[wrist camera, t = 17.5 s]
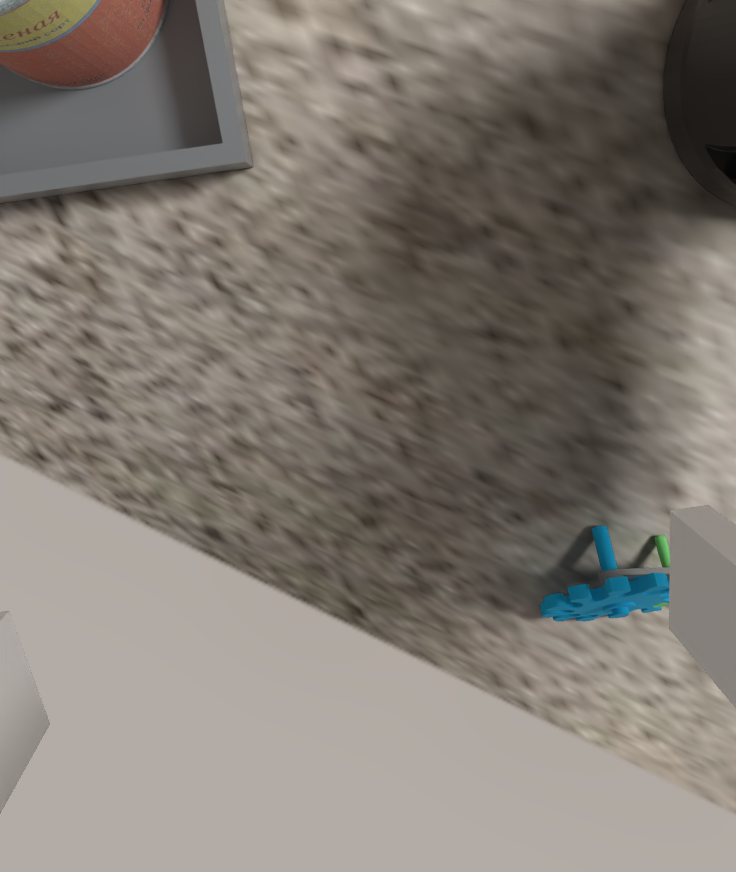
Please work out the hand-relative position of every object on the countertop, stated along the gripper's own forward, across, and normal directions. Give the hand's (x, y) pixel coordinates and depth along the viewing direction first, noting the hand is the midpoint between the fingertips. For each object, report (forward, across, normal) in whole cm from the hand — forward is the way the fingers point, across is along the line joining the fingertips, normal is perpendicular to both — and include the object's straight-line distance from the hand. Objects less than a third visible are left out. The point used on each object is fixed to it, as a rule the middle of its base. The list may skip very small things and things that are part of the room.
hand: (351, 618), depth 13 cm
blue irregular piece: (+29, +16, -18) cm, 38 cm away
